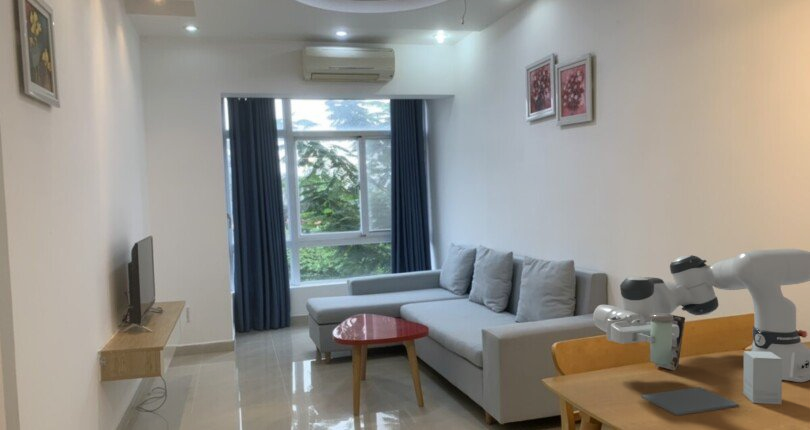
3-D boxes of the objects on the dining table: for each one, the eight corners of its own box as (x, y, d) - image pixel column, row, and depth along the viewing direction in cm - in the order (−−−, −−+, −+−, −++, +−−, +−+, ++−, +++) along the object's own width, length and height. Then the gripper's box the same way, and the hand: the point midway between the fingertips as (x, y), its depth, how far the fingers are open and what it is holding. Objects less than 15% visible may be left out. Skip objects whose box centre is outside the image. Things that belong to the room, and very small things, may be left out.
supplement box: (782, 404, 159) (782, 358, 158) (752, 403, 161) (752, 357, 160) (771, 395, 166) (771, 351, 166) (742, 393, 168) (742, 350, 167)
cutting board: (699, 389, 172) (699, 387, 172) (738, 406, 159) (738, 403, 159) (641, 397, 167) (641, 395, 167) (676, 415, 153) (676, 413, 153)
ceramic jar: (662, 356, 169) (663, 311, 168) (677, 363, 164) (678, 316, 163) (644, 359, 168) (645, 313, 167) (659, 365, 162) (659, 318, 161)
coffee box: (675, 371, 188) (682, 321, 187) (654, 365, 192) (661, 317, 190) (679, 364, 196) (686, 317, 195) (658, 359, 200) (665, 312, 198)
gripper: (660, 334, 181) (693, 346, 168) (602, 340, 175) (632, 353, 162) (660, 313, 180) (694, 324, 167) (602, 319, 175) (632, 331, 161)
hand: (663, 339), depth 164 cm, fingers closed on ceramic jar, 5 cm apart
